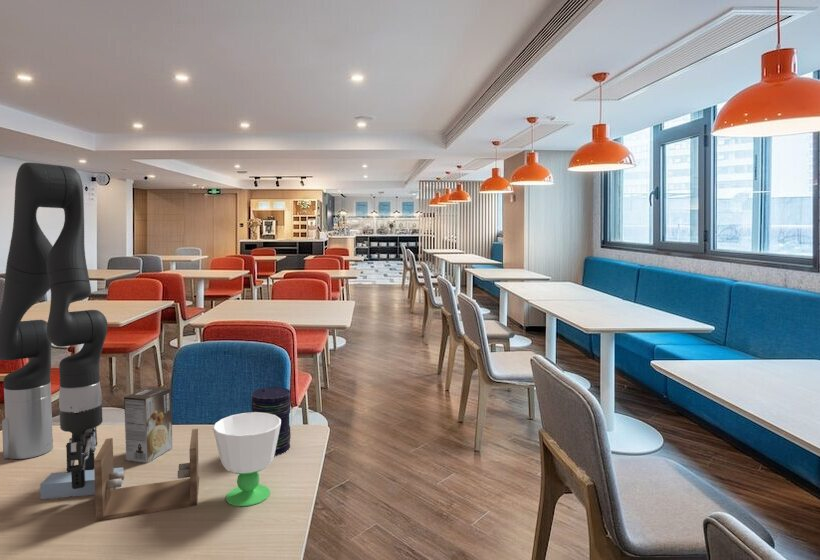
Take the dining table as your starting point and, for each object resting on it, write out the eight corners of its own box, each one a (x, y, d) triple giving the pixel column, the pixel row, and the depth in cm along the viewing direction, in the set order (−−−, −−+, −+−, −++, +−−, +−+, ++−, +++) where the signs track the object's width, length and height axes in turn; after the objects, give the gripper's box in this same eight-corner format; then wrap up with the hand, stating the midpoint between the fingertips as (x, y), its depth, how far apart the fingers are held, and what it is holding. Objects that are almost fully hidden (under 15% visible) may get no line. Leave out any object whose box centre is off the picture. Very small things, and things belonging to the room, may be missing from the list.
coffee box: (151, 445, 129) (150, 385, 128) (173, 448, 128) (172, 387, 127) (124, 460, 120) (123, 396, 119) (147, 463, 119) (146, 398, 118)
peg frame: (95, 521, 95) (93, 460, 94) (107, 493, 105) (105, 438, 104) (197, 504, 101) (196, 448, 100) (199, 480, 111) (198, 428, 111)
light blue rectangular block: (40, 500, 102) (40, 484, 102) (52, 488, 107) (51, 473, 107) (115, 493, 106) (115, 478, 105) (123, 482, 111) (123, 467, 110)
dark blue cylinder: (298, 446, 131) (298, 391, 130) (269, 460, 122) (269, 401, 121) (272, 437, 136) (272, 384, 135) (243, 450, 128) (242, 393, 127)
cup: (293, 486, 110) (294, 416, 108) (255, 518, 97) (255, 440, 95) (242, 475, 114) (241, 408, 113) (199, 505, 101) (198, 430, 100)
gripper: (69, 396, 110) (72, 467, 111) (49, 417, 97) (52, 497, 98) (108, 393, 113) (110, 462, 114) (93, 413, 100) (96, 491, 101)
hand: (83, 478), depth 106 cm, fingers open, 8 cm apart
